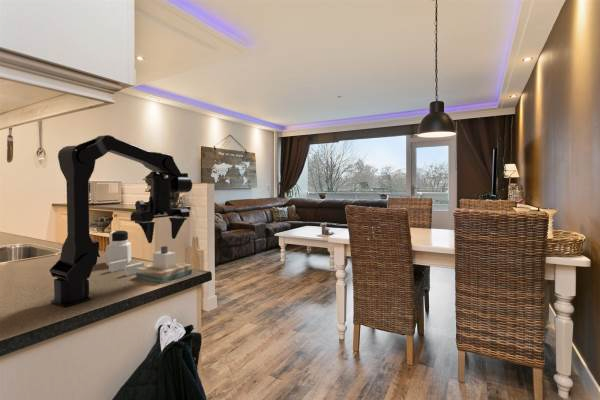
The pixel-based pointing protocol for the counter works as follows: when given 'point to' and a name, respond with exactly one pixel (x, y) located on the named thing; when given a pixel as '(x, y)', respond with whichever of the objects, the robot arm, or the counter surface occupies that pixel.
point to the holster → (124, 267)
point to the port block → (163, 272)
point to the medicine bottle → (118, 247)
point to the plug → (164, 259)
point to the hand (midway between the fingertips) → (162, 240)
